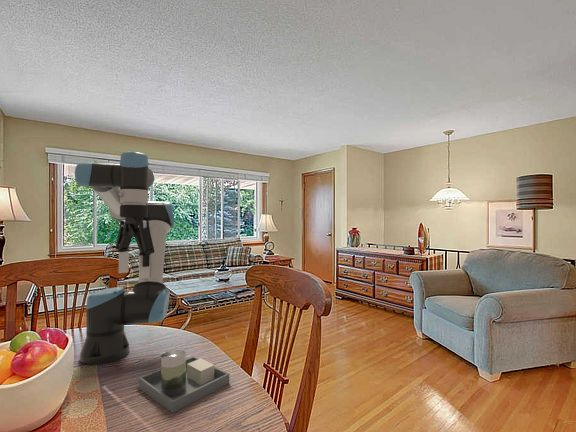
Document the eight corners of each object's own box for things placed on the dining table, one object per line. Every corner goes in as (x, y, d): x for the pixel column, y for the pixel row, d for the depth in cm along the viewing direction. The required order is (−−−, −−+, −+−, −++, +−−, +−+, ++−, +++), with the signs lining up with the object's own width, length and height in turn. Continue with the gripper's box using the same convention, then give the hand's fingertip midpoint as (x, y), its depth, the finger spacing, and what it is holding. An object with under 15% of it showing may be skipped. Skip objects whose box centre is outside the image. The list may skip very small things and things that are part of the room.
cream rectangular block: (186, 377, 93) (187, 363, 93) (200, 371, 97) (200, 358, 97) (200, 385, 88) (200, 371, 88) (214, 378, 92) (214, 365, 92)
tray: (138, 390, 87) (138, 377, 87) (193, 366, 101) (193, 356, 101) (172, 416, 76) (172, 402, 76) (229, 385, 90) (229, 373, 90)
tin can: (178, 381, 90) (178, 347, 90) (190, 389, 86) (190, 354, 86) (156, 391, 85) (156, 355, 85) (168, 400, 81) (168, 362, 81)
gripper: (104, 205, 97) (103, 272, 97) (141, 202, 81) (140, 282, 81) (128, 205, 103) (128, 269, 103) (167, 203, 87) (166, 278, 87)
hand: (133, 275), depth 92 cm, fingers open, 13 cm apart
